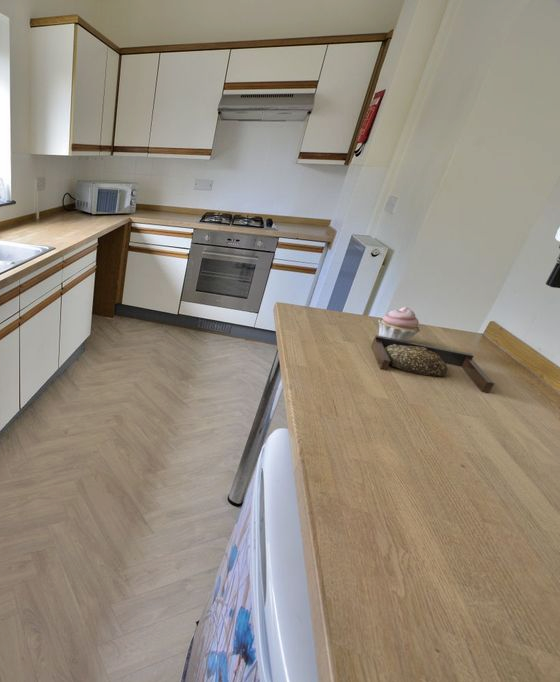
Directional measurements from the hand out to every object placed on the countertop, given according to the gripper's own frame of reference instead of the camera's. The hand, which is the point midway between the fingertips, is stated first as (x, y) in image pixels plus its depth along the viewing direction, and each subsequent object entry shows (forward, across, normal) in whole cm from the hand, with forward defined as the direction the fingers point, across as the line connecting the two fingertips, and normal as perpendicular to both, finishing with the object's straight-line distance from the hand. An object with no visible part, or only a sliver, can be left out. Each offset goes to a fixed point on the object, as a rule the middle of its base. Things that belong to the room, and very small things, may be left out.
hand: (559, 287), depth 72 cm
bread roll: (+26, +16, +10) cm, 32 cm away
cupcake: (+26, +32, +12) cm, 43 cm away
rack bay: (+25, +17, +8) cm, 31 cm away
